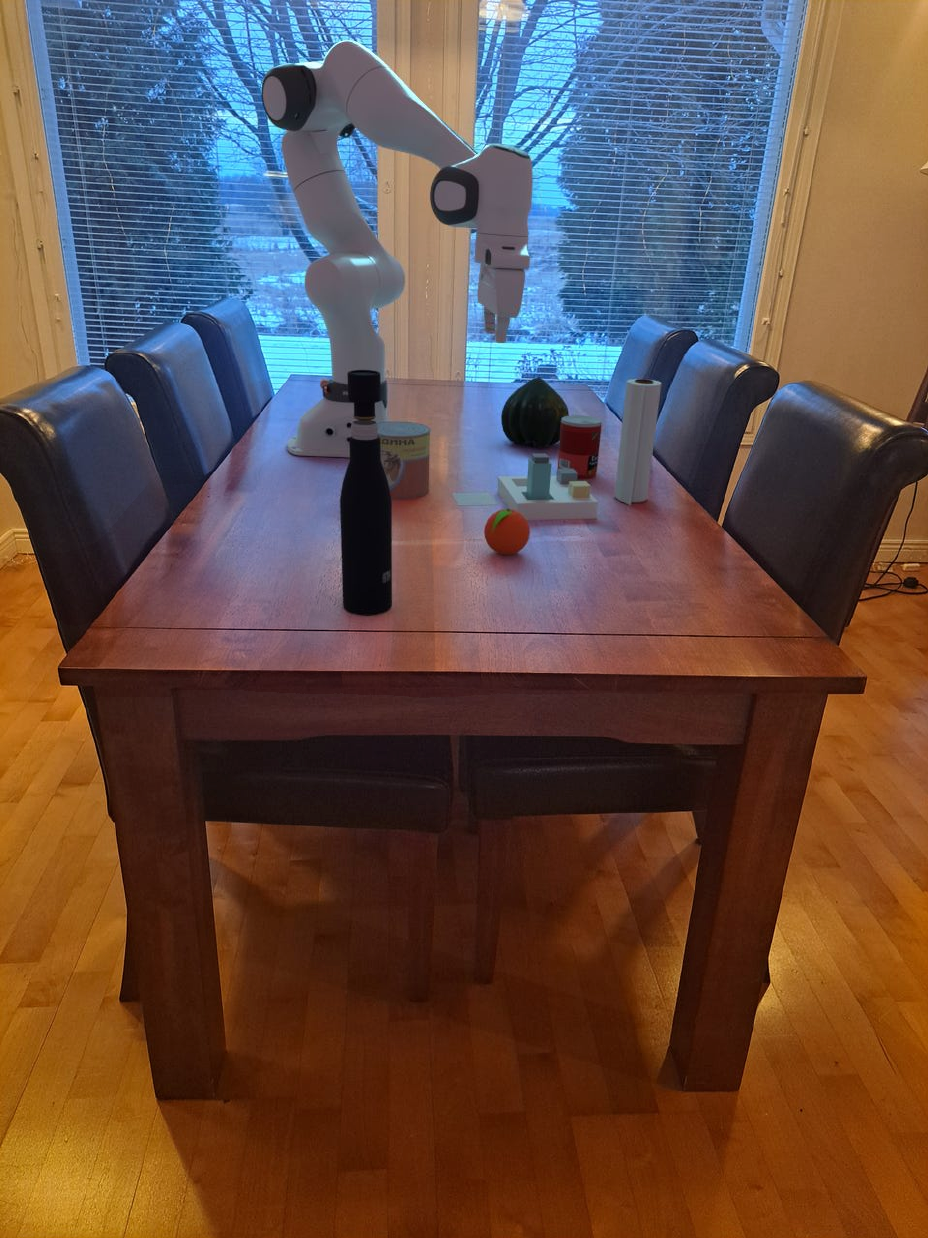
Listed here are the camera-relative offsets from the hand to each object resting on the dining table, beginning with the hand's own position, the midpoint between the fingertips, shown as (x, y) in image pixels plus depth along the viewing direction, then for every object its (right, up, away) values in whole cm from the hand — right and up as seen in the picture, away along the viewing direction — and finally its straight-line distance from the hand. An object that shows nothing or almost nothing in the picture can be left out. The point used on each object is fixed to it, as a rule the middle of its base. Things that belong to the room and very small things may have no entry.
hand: (494, 337), depth 155 cm
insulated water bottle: (-18, -48, -39) cm, 64 cm away
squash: (+10, -10, +44) cm, 46 cm away
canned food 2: (+17, -21, +22) cm, 35 cm away
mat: (-4, -29, +3) cm, 29 cm away
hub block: (+9, -30, +1) cm, 31 cm away
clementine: (+1, -40, -20) cm, 45 cm away
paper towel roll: (+25, -28, +8) cm, 38 cm away
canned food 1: (-17, -27, +6) cm, 33 cm away
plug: (+7, -31, -3) cm, 32 cm away
